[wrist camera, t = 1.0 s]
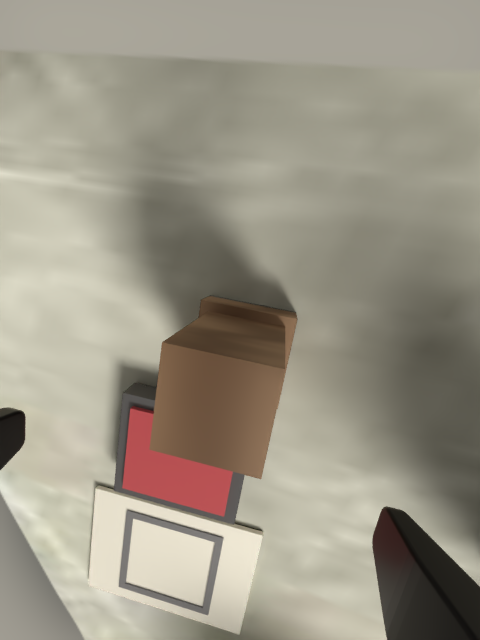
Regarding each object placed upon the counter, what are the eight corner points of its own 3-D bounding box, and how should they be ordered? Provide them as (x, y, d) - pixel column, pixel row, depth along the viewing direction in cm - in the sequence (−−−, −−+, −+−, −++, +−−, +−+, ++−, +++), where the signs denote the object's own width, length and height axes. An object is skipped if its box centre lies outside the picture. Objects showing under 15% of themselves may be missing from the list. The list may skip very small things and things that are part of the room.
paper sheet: (263, 531, 20) (262, 537, 19) (240, 629, 22) (239, 636, 21) (98, 485, 21) (94, 489, 21) (90, 581, 23) (87, 587, 23)
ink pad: (257, 411, 18) (254, 427, 16) (237, 505, 20) (233, 529, 18) (135, 382, 19) (120, 395, 17) (126, 474, 21) (111, 494, 19)
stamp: (296, 312, 17) (305, 357, 9) (278, 392, 18) (272, 495, 10) (210, 295, 17) (149, 324, 9) (198, 374, 18) (134, 458, 11)
